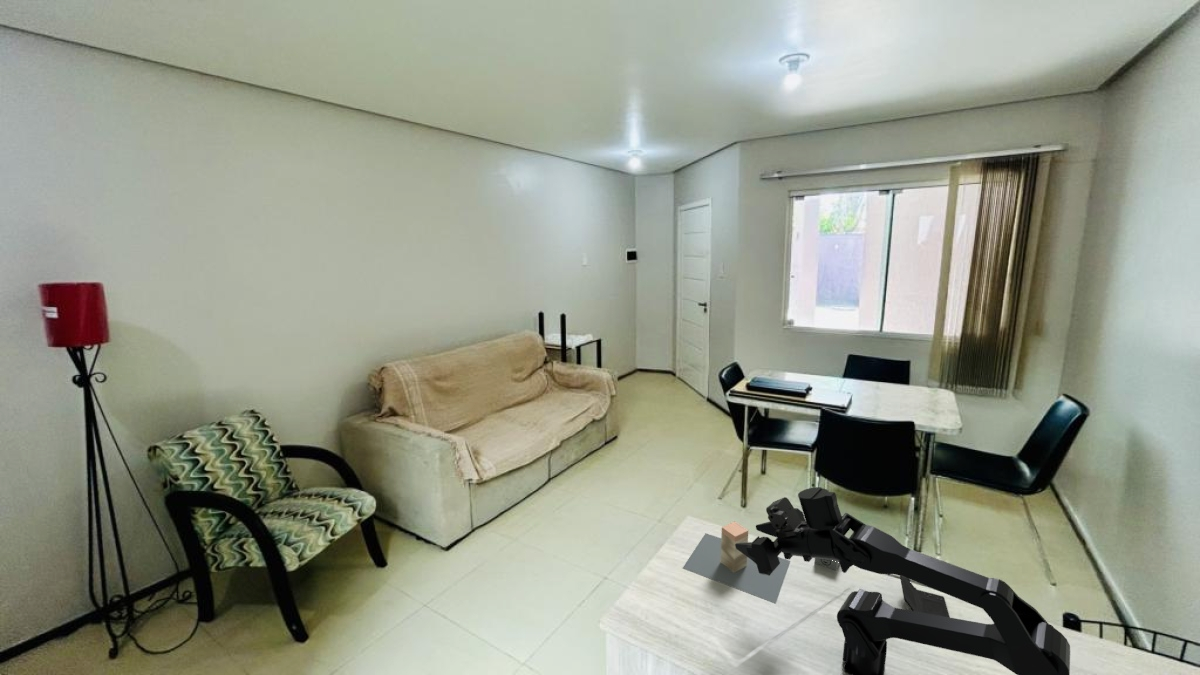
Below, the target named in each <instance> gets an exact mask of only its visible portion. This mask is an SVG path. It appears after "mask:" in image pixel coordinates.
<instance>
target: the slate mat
mask: <svg viewBox="0 0 1200 675" xmlns="http://www.w3.org/2000/svg"><path fill="white" fill-rule="evenodd" d="M778 558H779V562H780V564H779V565H778V567H777V568H776V569H775V570H774V571H773V572H772V574H771V575H770V576H768V575H762V574H760V573H759V571H758V568H757V564H756V563H754V562H753V561H752V560H751V559H750V558H748V557H747V566H746V567H744V568H742V569H740V570H738V571H736V572H732V571H731V570H730V569H729V568H727V567H726V566H725V565H724V564H722V563H721V537H718V536H715V535H712V534H709V533H704V535H703V536H702V538H701V539H700V540H699V542H698V544H697V545H696V547H695V548H694V549H693V552H691V555H689V557H688V559H687V561H686V562H685V563H684V565H683V566H682V569H683V570H686V571H689V572H691V573H694V574H696V575H699V576H702V577H705V578H707V579H710V580H712V581H715V582H718V583H720V584H723V585H725V586H728V587H731V588H734V589H736V590H739V591H742V592H744V593H746V594H749V595H752V596H755V597H757V598H760V599H763V600H765V601H767V602H770V603H773V604H777V601H778V598H779V595H780V592H781V590H782V586H783V584H784V580H785V578H786V575H787V573H788V570H789V566H790V564H791V560H789V559H785V558H784V557H783V558H782V557H779V556H778Z"/></svg>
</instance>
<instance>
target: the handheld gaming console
mask: <svg viewBox="0 0 1200 675" xmlns="http://www.w3.org/2000/svg"><path fill="white" fill-rule="evenodd" d="M899 578H900V584H901V590H902V595H903V600H904V602H905V603H906V604H907V606H908V607H909V610H911V611H916V612H922V613H928V614H933V615H939V616H944V617H950V618H951V616H950V613H949V609H948V606H947V602H946V600H945V599H946V598H945V596H943V595H940V594H935V593H932V592H929V591H928V592H927V591H924V590H920V589H918V588H916V586H914V585H913V583H912V582H911V581H910V579H908V578H906V577H903V576H899ZM910 582H911V583H910Z"/></svg>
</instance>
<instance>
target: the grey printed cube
mask: <svg viewBox="0 0 1200 675" xmlns="http://www.w3.org/2000/svg"><path fill="white" fill-rule="evenodd" d="M835 561H836V562H835ZM838 562H839V561H838V560H833V561H832V560H829V559H820V558H814V564H817V565H819V566H822V567H825V568H827V569H830V570H833V571H835V572H836V571H837V570H838V569H839V566H840V563H838Z"/></svg>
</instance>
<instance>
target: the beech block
mask: <svg viewBox="0 0 1200 675" xmlns="http://www.w3.org/2000/svg"><path fill="white" fill-rule="evenodd" d="M720 538H721V563H722V564H724V565H725V566H726V567H727V568H729V569H730V570H731V571H732V572H736V571H738V570H740V569H742V568H744V567H746V566H747V556H746V555H744V554H743V553H741V552H740V551H739V550H737V549H736V546H735V544H736V543H746V542H749V530H748V529H747V528H745V527H744V526H742V525H741V524H740V523H738V522H736V521H732V522H730V523H728V524H726V525H724V526H722V527H721V537H720Z"/></svg>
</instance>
